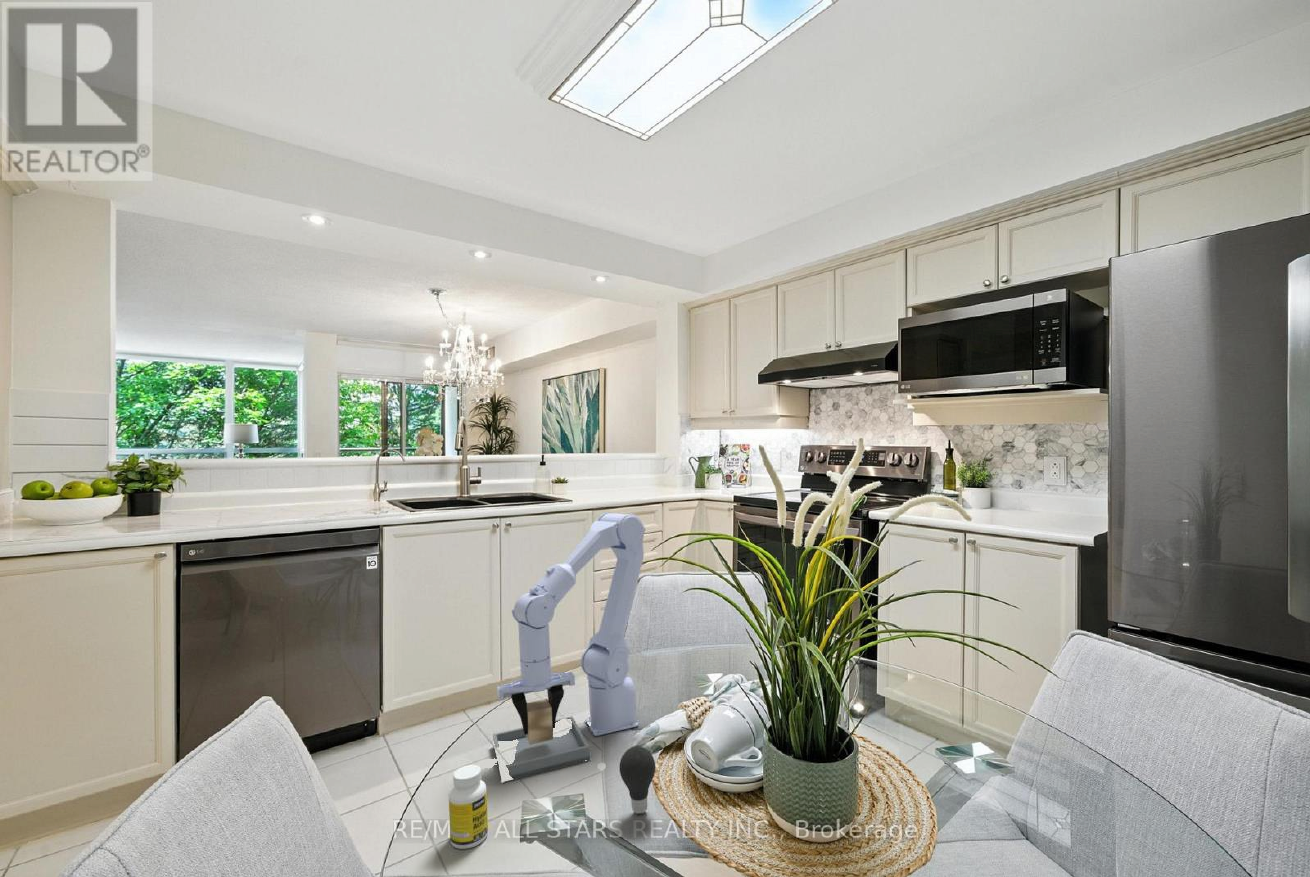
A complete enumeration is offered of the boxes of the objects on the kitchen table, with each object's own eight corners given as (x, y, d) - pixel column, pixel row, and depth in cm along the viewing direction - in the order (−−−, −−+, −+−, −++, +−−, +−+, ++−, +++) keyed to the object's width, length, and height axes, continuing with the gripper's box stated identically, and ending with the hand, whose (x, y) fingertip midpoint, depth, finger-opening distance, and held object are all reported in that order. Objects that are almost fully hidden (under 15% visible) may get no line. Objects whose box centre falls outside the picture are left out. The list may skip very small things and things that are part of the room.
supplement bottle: (477, 852, 82) (473, 783, 82) (443, 849, 83) (440, 781, 84) (495, 827, 87) (491, 762, 88) (462, 825, 88) (459, 761, 89)
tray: (572, 728, 118) (572, 716, 119) (590, 760, 105) (589, 746, 106) (493, 746, 113) (492, 734, 113) (501, 783, 100) (500, 768, 100)
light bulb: (654, 799, 92) (651, 737, 92) (660, 821, 87) (657, 754, 87) (620, 805, 91) (616, 742, 91) (624, 827, 86) (620, 760, 86)
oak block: (548, 729, 112) (547, 698, 112) (553, 739, 108) (551, 707, 108) (525, 734, 110) (524, 703, 110) (529, 744, 106) (527, 712, 106)
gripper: (498, 671, 103) (502, 747, 103) (577, 657, 109) (580, 729, 108) (494, 659, 110) (498, 731, 109) (568, 646, 115) (572, 714, 115)
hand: (538, 729), depth 109 cm, fingers closed on oak block, 4 cm apart
